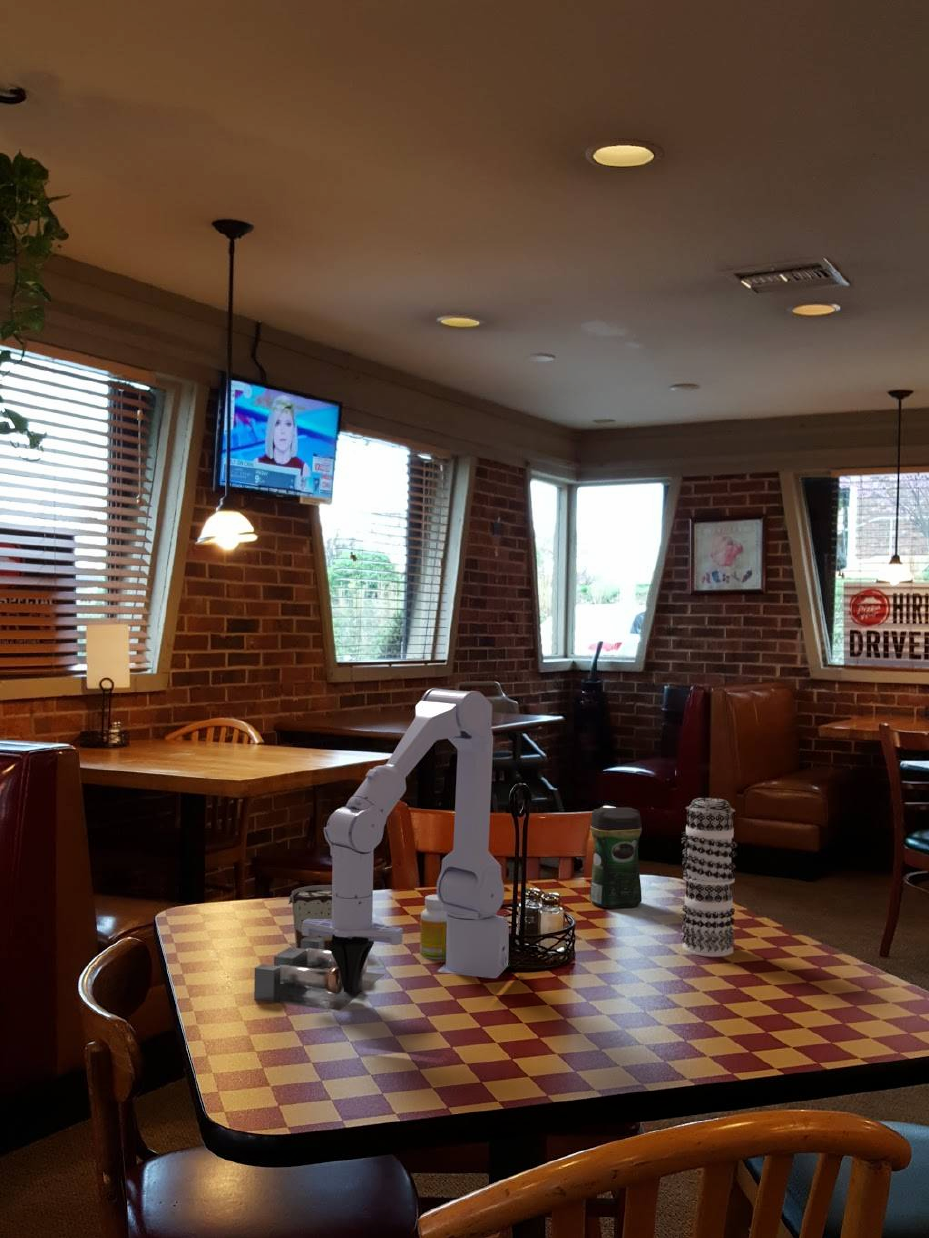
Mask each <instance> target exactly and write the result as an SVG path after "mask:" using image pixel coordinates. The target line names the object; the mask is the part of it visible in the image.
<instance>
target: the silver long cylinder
mask: <svg viewBox="0 0 929 1238" xmlns="http://www.w3.org/2000/svg"><path fill="white" fill-rule="evenodd" d="M307 949H308V951H307V966H312V967H321V968H329V969H330V968H332V967H337V968H338V966H337V963H336V961H335V959H334V957H333V955H332V953H331V952H330V950H322V949H313V948H307ZM368 963H369V955H368V956H367V958H366V961H365V963H364V966H363V969H362V973H363V974H362V976H363V975H364V974H365V972H367V968H368Z"/></svg>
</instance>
